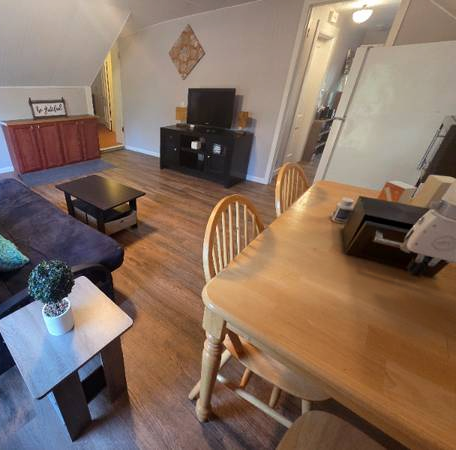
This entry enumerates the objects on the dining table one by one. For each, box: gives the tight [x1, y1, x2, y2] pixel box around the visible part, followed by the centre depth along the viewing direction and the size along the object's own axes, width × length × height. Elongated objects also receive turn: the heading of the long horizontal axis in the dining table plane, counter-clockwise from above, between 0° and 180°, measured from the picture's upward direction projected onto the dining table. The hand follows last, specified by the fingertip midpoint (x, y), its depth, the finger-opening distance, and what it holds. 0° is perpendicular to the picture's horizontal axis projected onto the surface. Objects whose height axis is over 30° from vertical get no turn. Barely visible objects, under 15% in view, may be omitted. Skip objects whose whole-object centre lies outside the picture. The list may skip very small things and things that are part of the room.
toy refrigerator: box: [409, 174, 456, 209], centre depth 92 cm, size 8×7×21 cm
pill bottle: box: [331, 197, 355, 224], centre depth 100 cm, size 5×5×10 cm
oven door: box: [345, 221, 450, 278], centre depth 73 cm, size 6×22×15 cm, turn 59°
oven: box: [342, 195, 434, 252], centre depth 82 cm, size 16×22×15 cm
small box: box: [376, 180, 418, 205], centre depth 107 cm, size 8×6×13 cm
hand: (412, 273), depth 63 cm, fingers closed
